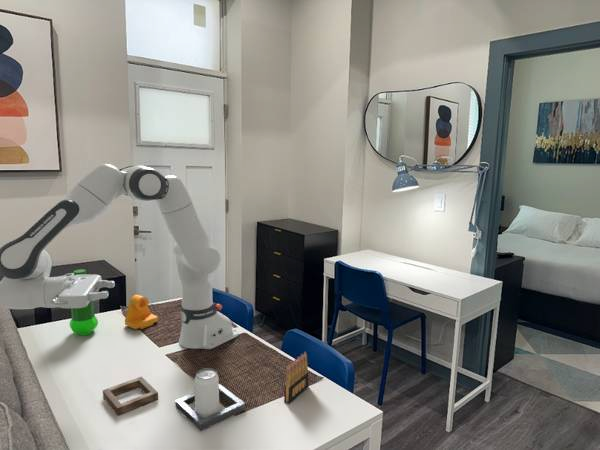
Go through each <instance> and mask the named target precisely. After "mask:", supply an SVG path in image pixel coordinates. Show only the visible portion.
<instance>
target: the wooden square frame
mask: <svg viewBox="0 0 600 450" xmlns="http://www.w3.org/2000/svg"><path fill="white" fill-rule="evenodd" d="M136 389H140V390H141V391H142V392H143V393H144V394H143V395H139V396H137V397H135V398H131V399H128V400H127V401H124V402H120V401H119V400H118V398H117V397H118V396H120V395H124V394H126V393H129V392H131V391H134V390H136ZM102 398H103V400H104V401H105V402H106V403H107V405H108V406H109V407H110V409H111V410H112V411H113V412H114V413H115V415H116V416H117V417H120V416H123V415H125V414H127V413H128V414H129V413H130V412H133V411H135V410H137V409H141V408H143V407H145V406H147V405H150V404H153V403H155V402H157V401H159V392H158V391H157V390H156V389H155V388H154V387H153V386H152V385H151V384H150V383H149V382H148V381H147V380H146V379H145V378H144V377H143V376H139V377H136V378H134V379H130V380H128V381H125V382H122V383H120V384H116V385H114V386H110V387H108V388H105V389H102Z"/></svg>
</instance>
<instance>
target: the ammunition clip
mask: <svg viewBox="0 0 600 450" xmlns="http://www.w3.org/2000/svg"><path fill="white" fill-rule="evenodd" d="M308 365H309V364H308V355H307V352H306V351H304V352H303V353H301V355H300V356H297V358H295V359H294V361H293V360H292V361H291V362H290V363H288V364H287V366H286V367H287V368H286V376H285V385H284V392H283V393H284V395H283V396H284V399H283V400H284V401H283V402H284V403H286V404H292V403H293V402H294V401H295V400H296V399H297V398H298V397H299V396H300V395H302V394H303V393H304V392H305V391H306V390H308V388H309V372H308V369H309V368H308Z"/></svg>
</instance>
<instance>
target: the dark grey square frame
mask: <svg viewBox="0 0 600 450" xmlns="http://www.w3.org/2000/svg"><path fill="white" fill-rule="evenodd" d="M219 397H221V398H223V399H224V400H226V402H228V403H229V404H230V405H229V406H228V407H226V408H223V409H222V410H221V409H220V410H219V412H217V413H215V414H213V415H211V416H209V417H206V418H204V419H202V418H201V417H200V416H199V415H198V414H197V413H196V412H195V410H194V409H192V408H191V406H189V405H191V404H195V391H194V392H192V393H189V394H188V395H185V396H183V397H180V398H178V399H176V400H175V408H176V409H178V411H179V412H180V413H181V414H182V415H184V417H185V418H187V419H188V421H189V422H191V423H192V425H193V426H195V427H196V428H197V429H198V430H199V431H200V432H203V431H204V430H206V429H208V428H211V427H212V426H215V425H216V424H218V423H220V422H223V421H225V420H227V419H229V418H231V417H233V416H235V415H237V414H239V413H240V412H243V411H245V410H246V402H244V401H243V400H241V399H240V398H239V397H237V395H235V394H234V393H232V392H231V391H230V390H229V389H227V388H226V387H224V386H223V385H222V384H220V383H219Z"/></svg>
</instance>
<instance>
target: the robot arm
mask: <svg viewBox="0 0 600 450" xmlns="http://www.w3.org/2000/svg"><path fill="white" fill-rule="evenodd" d="M122 195H125V196H126V197H129V198H132V199H134V200H140V201H155V202H156V204H157V205H158V208H159V211H160V213H161V215H162V218H163V220H164V222H165V224H166V227H167V230H168V232H169V234H170V235H171V236H172V238H173V239H174V241H175V242H174V244H173V249H172V253H173V255H174V258H175V262H176V266H177V271H178V276H179V281H180V289H181V306H180V307H181V308H180V317H181V329H180V335H179V339H178V343H179V346H181V347H184V348H187V349H205V350H211V349H214V348H216V347H218V346H220V345H222V344H224V343H226V342H229V341H231V340H232V339H234V338H237V337H238V336H239V331H238V330H237V329H236V328H235V327H234V326H233V324H232V320H231V319H230V318H229V317H227V316H226V315H224V314H223V313H221V312H220V311H221V310H222V309H223V305H222V304H220V303H215V302H213V284H212V280H211V278H210V276H209V275H210V274H213V273H214V272H216V271H217V270H218V268H219V266H220V265H221V255H220V254H221V253H220V252H219V251H218V250H217V248H216V247H215V246H214V244H213V242H212V240H211V238H210V236H209V234H208V233H207V231H206V230H205V228H204V226H203V224H202V223H201V221H200V219H199V217H198V216H199V215H198V213H197V210H196V208H195V206H194V204H193V201H192V198H191V196H190V194H189V192H188V190H187V188H186V186H185V184H184V183H183V181H182V180H181V178H179V177H178V176H176V175H162V174H161V173H160V172H159V171H158V170H156V169H155V168H153V167H149V166H145V165H130V166H126V167H123V168H120V169H118V168H117V167H116V166H114V165H112V164H110V163H109V164H108V163H101V164H99V165H97V166H96V167H95V168H93V169H92V170H91V171H90V172H88V173H87V174H86V175H85V176H84V177H83V178H82V179H80V181H79V182H77V184H75V186H74V187H73V188H72V189H71V190H70V191H69V192H68V193H67V194H66V195H65V196H64V197H63V198H62V199H61V200H60V201H59V202H58V203H56V204H55V205H54V206H53V207H51V208H50V209H49V210H48V211H47V212H46V213H45V214H44V215H43V216H41V218H40V219H39V220H37V222H35V223H34V224H33V225H32V226H31V227H30V228H29V229H28V230H27V231H26V232H24V234H22V235H21V236H19V237H17V238H16V239H13V240H11V241H10V242H9V241H8V242H7V243H5V244H4V245H2V246H1V247H0V275H1V276H3V278H1V280H0V306H1V307H2V308H4V309H9V310H32V309H37V308H46V309H47V308H48V309H49V308H50V309H51V308H52V309H53V308H61V309H71V308H83V307H86V306H87V305H88V304H89V302H90V301H98V300H105V299H107V298H108V297H109V291H108V290H102V291H99V290H100V289H102V288H108V289H112V288H113V289H114V287H115V285H116V282H115V281H114V280H107V279H102V276H101V275H99V274H87V273H86V274H80V275H75V276H74V273H73V272H71V273H70V272H69V273H65V274H64V275H59V276H51V273H52V267H53V258H52V256H51V254H50V253H49V251H47V250H45V249H46V248H47V247H48V246H49V245H50V244H51V243H52V242H53V241H54V240H55V239H56V238H57V237H58V236H59V235H60V234H62V232H63V231H65V230H66V229H68V228H70V227H72V226H75V225H80V224H86V223H91V222H93V221H94V220H96V219H97V218H98V217H100V216H101V215H102V214H103V213H104V212H105V211H106V210H107V208H109V206H110V205H112V203H113V202H114V200H116V199H117V198H118V197H120V196H122ZM98 291H99V292H98Z"/></svg>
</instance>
